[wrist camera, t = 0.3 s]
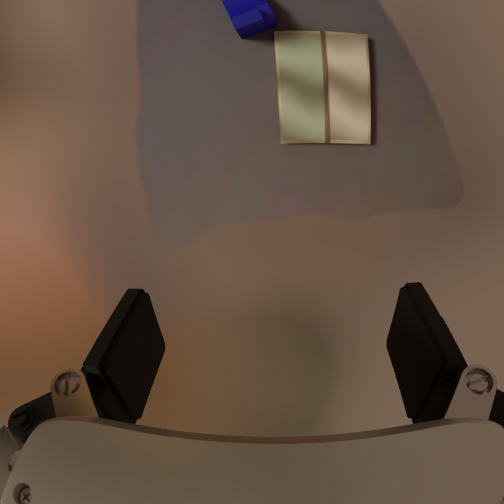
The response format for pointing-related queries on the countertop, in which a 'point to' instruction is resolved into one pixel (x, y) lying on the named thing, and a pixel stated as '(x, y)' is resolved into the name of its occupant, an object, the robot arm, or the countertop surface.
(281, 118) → the board
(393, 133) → the countertop surface
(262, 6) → the cable clip
